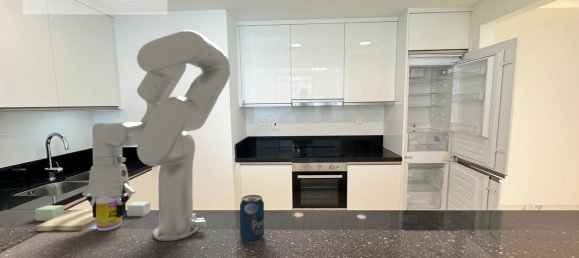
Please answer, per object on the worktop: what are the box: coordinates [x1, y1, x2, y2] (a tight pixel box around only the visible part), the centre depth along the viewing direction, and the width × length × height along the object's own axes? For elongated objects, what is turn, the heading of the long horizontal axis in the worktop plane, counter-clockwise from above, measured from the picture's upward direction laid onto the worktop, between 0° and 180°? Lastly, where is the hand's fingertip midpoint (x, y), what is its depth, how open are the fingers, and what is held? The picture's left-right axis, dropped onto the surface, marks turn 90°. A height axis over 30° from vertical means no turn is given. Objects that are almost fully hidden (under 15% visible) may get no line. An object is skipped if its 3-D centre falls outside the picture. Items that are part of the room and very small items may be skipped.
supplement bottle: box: [95, 192, 123, 232], centre depth 77 cm, size 7×7×13 cm
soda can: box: [239, 194, 265, 244], centre depth 70 cm, size 7×7×12 cm
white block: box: [126, 201, 151, 217], centre depth 88 cm, size 6×4×4 cm, turn 88°
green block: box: [34, 204, 65, 222], centre depth 84 cm, size 6×4×4 cm, turn 90°
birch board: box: [35, 208, 96, 232], centre depth 82 cm, size 14×14×2 cm
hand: (109, 215), depth 77 cm, fingers closed on supplement bottle, 6 cm apart
